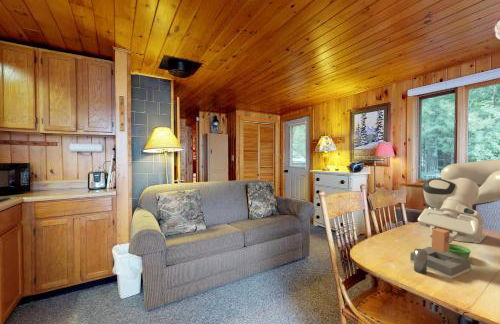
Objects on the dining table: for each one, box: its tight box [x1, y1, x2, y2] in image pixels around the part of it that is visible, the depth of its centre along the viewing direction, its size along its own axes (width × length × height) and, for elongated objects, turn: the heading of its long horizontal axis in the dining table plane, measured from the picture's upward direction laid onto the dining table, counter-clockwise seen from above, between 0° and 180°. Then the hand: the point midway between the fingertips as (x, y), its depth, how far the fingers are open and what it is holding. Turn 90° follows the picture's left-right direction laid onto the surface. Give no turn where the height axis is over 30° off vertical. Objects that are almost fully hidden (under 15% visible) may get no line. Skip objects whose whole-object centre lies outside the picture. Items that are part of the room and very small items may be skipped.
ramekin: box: [447, 243, 472, 260], centre depth 101 cm, size 9×9×4 cm
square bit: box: [431, 228, 450, 253], centre depth 93 cm, size 4×4×8 cm
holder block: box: [409, 246, 472, 280], centre depth 94 cm, size 14×14×4 cm
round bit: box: [413, 248, 428, 275], centre depth 90 cm, size 4×4×8 cm
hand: (439, 239), depth 93 cm, fingers closed on square bit, 4 cm apart
